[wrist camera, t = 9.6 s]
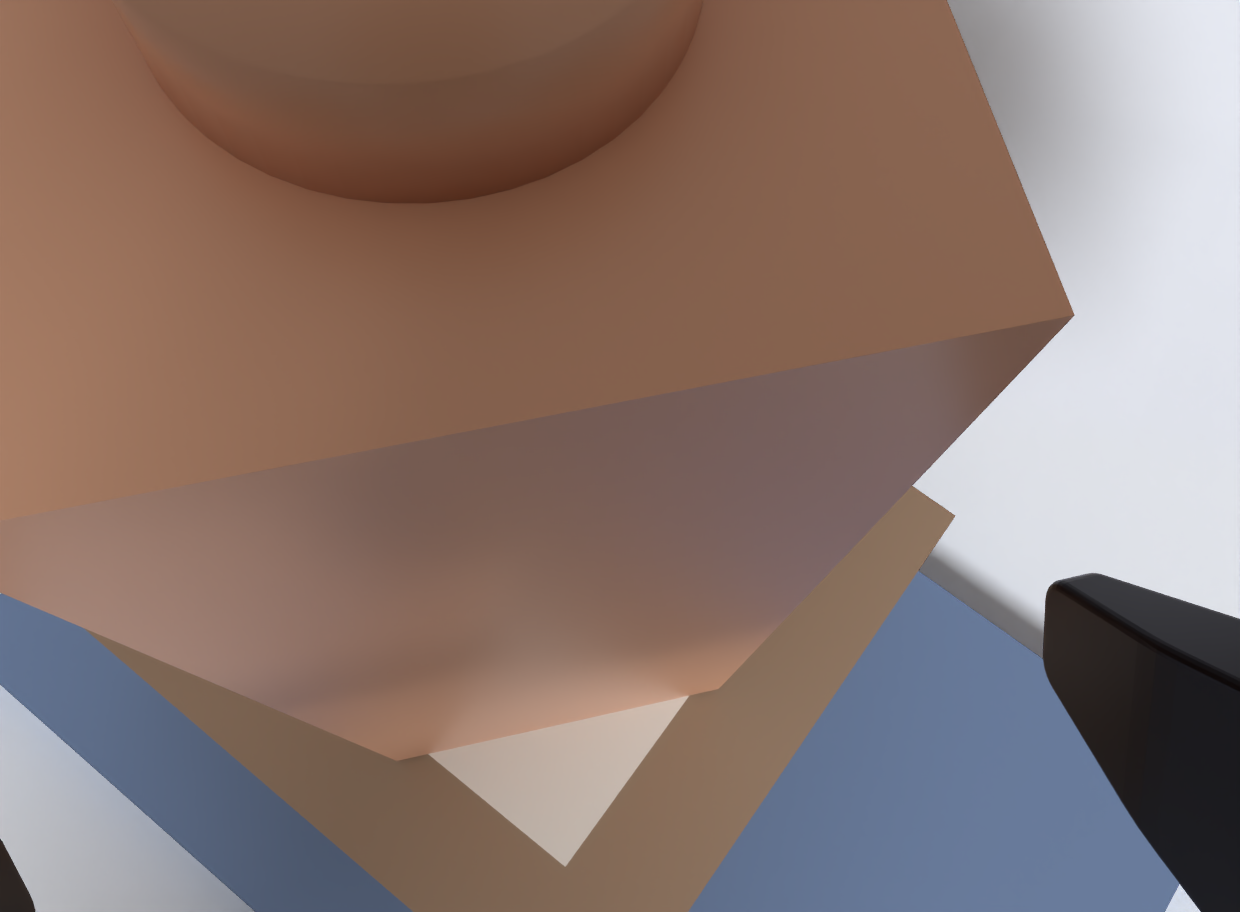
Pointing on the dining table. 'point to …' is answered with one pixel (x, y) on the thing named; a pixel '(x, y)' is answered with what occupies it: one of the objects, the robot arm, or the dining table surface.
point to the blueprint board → (817, 842)
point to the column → (485, 334)
